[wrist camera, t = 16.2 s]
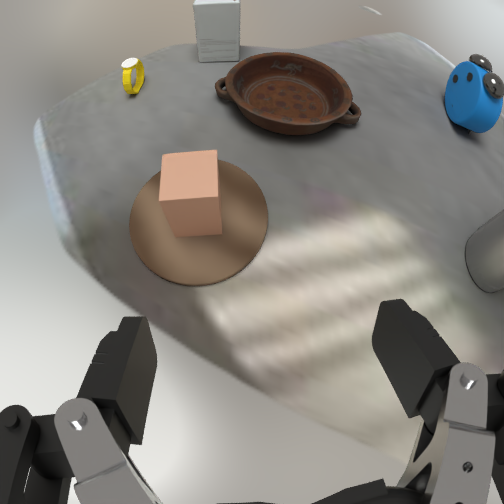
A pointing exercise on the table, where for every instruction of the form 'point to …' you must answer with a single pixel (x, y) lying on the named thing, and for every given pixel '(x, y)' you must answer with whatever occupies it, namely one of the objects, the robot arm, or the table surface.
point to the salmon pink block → (191, 193)
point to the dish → (289, 93)
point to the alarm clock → (474, 95)
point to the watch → (127, 68)
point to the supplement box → (217, 29)
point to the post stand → (201, 247)
